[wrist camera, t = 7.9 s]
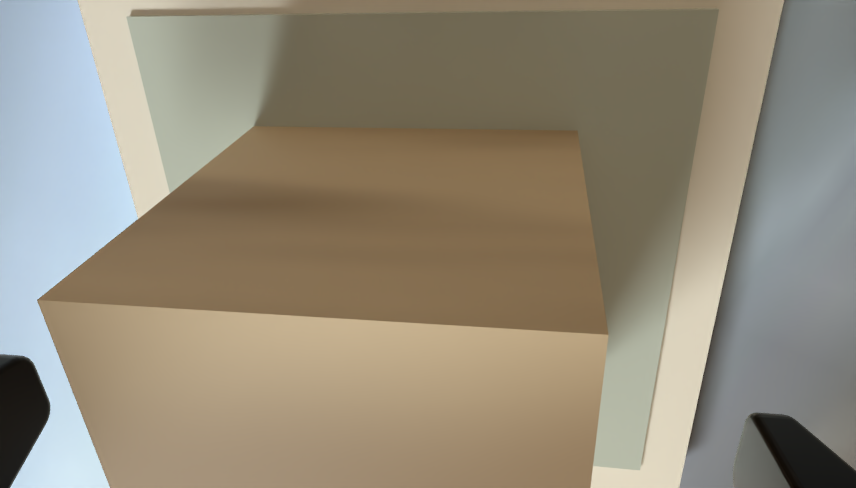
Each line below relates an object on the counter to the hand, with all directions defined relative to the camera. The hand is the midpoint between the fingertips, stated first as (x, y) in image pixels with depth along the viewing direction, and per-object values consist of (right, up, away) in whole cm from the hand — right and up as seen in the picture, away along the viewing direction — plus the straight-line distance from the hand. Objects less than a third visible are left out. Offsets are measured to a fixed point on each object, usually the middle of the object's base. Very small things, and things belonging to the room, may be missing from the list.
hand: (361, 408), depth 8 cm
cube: (+1, +2, +3) cm, 3 cm away
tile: (+1, +2, +4) cm, 4 cm away
